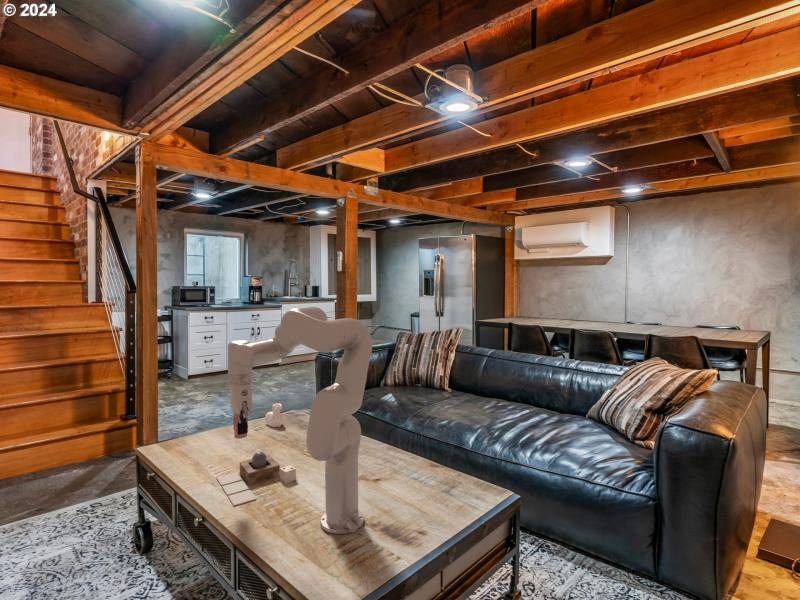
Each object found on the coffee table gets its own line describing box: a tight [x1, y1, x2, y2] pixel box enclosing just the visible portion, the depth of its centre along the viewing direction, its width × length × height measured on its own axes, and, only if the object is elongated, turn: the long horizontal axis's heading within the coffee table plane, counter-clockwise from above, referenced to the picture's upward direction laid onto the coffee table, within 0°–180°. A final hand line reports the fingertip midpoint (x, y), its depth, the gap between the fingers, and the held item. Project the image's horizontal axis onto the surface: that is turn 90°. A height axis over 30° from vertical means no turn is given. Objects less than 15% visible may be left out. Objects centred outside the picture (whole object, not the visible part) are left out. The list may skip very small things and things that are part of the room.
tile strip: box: [216, 471, 257, 507], centre depth 148 cm, size 23×7×1 cm, turn 36°
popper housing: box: [239, 454, 281, 485], centre depth 158 cm, size 11×11×4 cm
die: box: [279, 464, 297, 484], centre depth 154 cm, size 4×4×4 cm
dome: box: [251, 451, 267, 469], centre depth 158 cm, size 5×5×6 cm
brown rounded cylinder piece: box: [233, 411, 248, 439], centre depth 145 cm, size 4×4×10 cm
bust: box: [264, 402, 285, 428], centre depth 210 cm, size 12×8×11 cm
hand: (240, 430), depth 146 cm, fingers closed on brown rounded cylinder piece, 4 cm apart
